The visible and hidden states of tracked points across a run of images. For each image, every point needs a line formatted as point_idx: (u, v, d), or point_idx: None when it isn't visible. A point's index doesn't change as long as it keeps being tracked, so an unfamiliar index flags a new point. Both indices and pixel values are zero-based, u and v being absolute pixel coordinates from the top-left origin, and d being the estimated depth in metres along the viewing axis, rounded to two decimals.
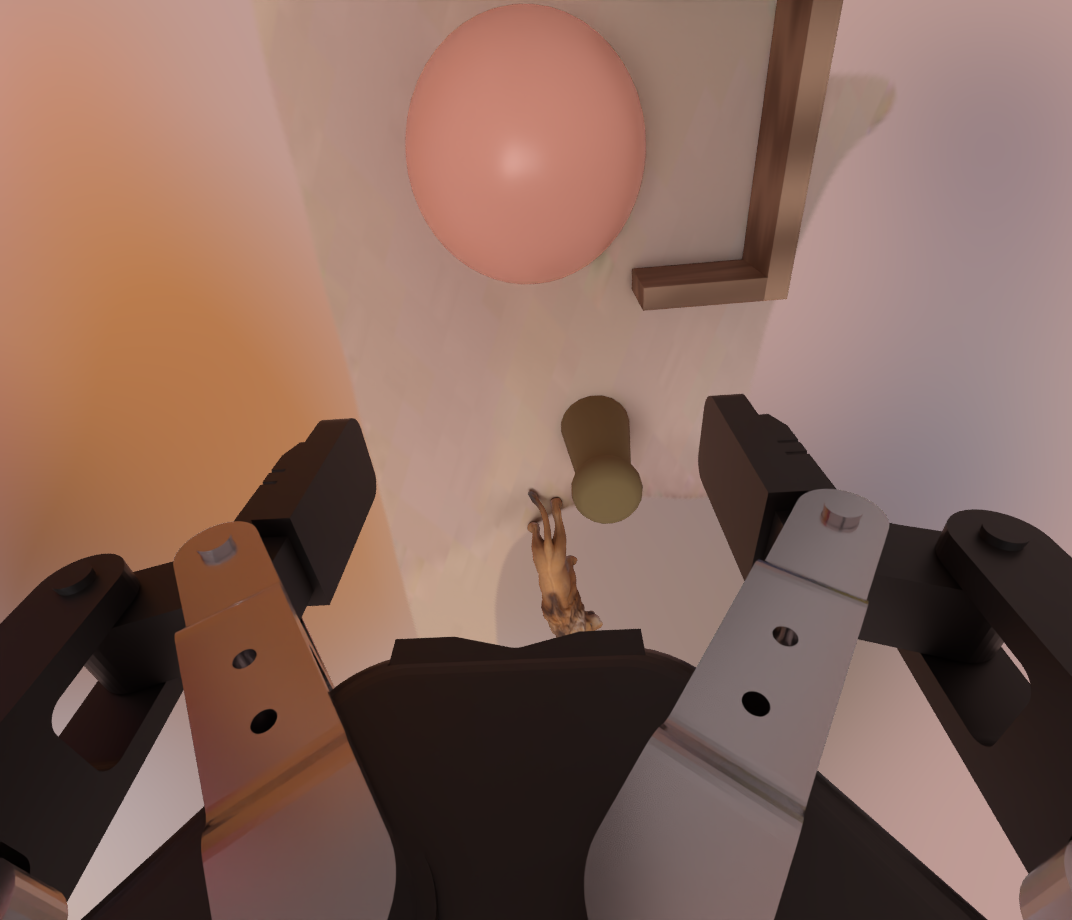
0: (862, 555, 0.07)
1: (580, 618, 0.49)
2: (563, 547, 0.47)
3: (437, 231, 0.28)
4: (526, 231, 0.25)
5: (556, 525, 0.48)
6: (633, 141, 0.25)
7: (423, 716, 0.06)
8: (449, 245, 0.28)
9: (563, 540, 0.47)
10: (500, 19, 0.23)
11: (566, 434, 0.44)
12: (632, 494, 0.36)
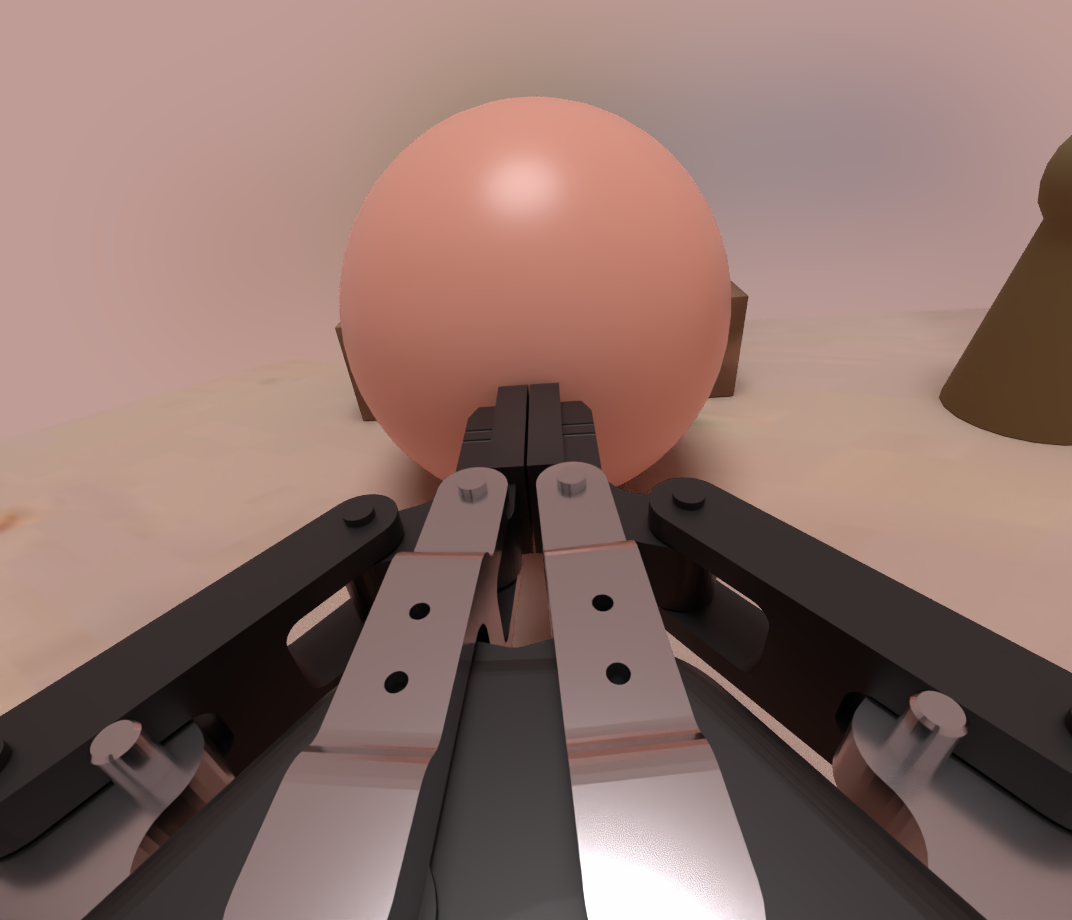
0: (567, 514, 0.08)
1: None
2: None
3: (634, 200, 0.12)
4: None
5: None
6: None
7: None
8: (660, 196, 0.13)
9: None
10: None
11: None
12: None
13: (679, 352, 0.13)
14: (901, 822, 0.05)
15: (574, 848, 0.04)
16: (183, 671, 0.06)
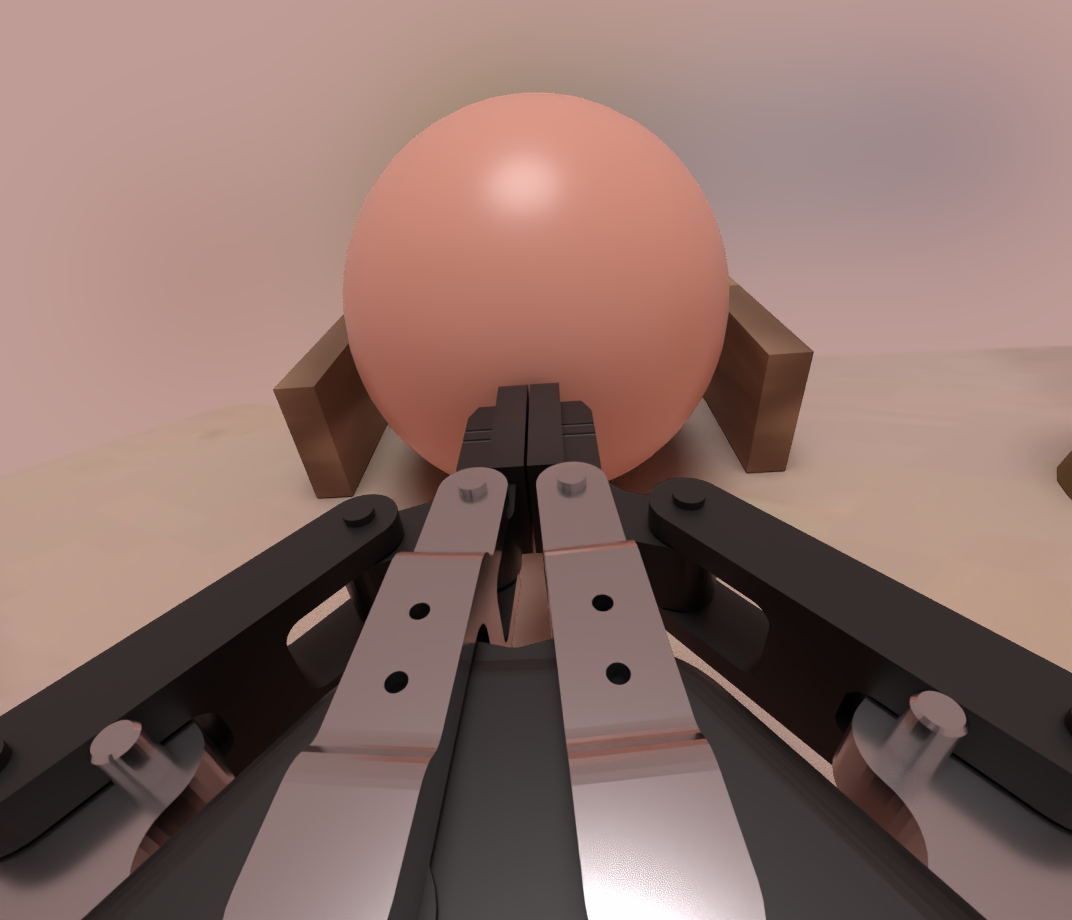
0: (567, 515, 0.08)
1: None
2: None
3: None
4: None
5: None
6: None
7: None
8: None
9: None
10: None
11: None
12: None
13: (663, 151, 0.14)
14: (902, 821, 0.05)
15: (574, 848, 0.04)
16: (183, 671, 0.06)
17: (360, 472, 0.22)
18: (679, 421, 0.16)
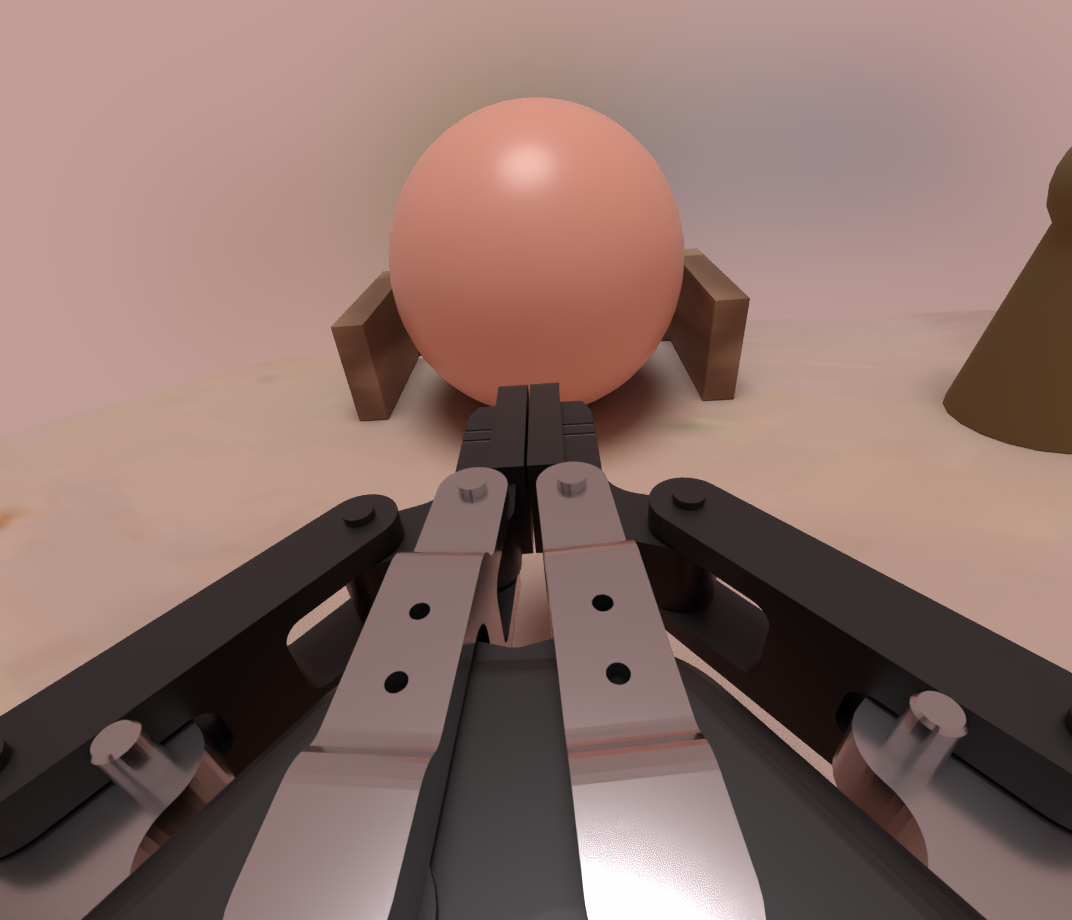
0: (567, 514, 0.08)
1: None
2: None
3: None
4: None
5: None
6: None
7: None
8: None
9: None
10: None
11: None
12: None
13: (631, 144, 0.19)
14: (901, 822, 0.05)
15: (574, 848, 0.04)
16: (183, 671, 0.06)
17: (393, 402, 0.28)
18: (643, 351, 0.21)
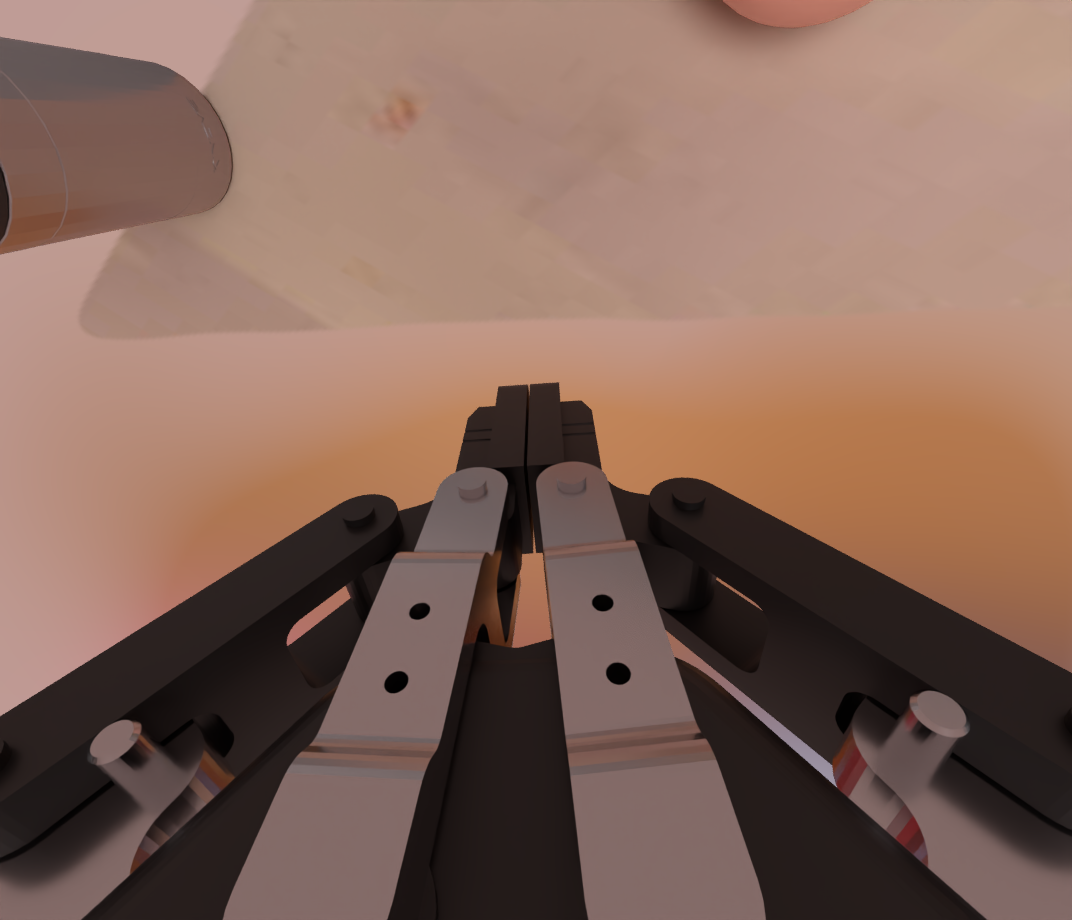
0: (567, 514, 0.08)
1: None
2: None
3: None
4: None
5: None
6: None
7: None
8: None
9: None
10: None
11: None
12: None
13: None
14: (901, 821, 0.05)
15: (574, 848, 0.04)
16: (183, 671, 0.06)
17: None
18: None
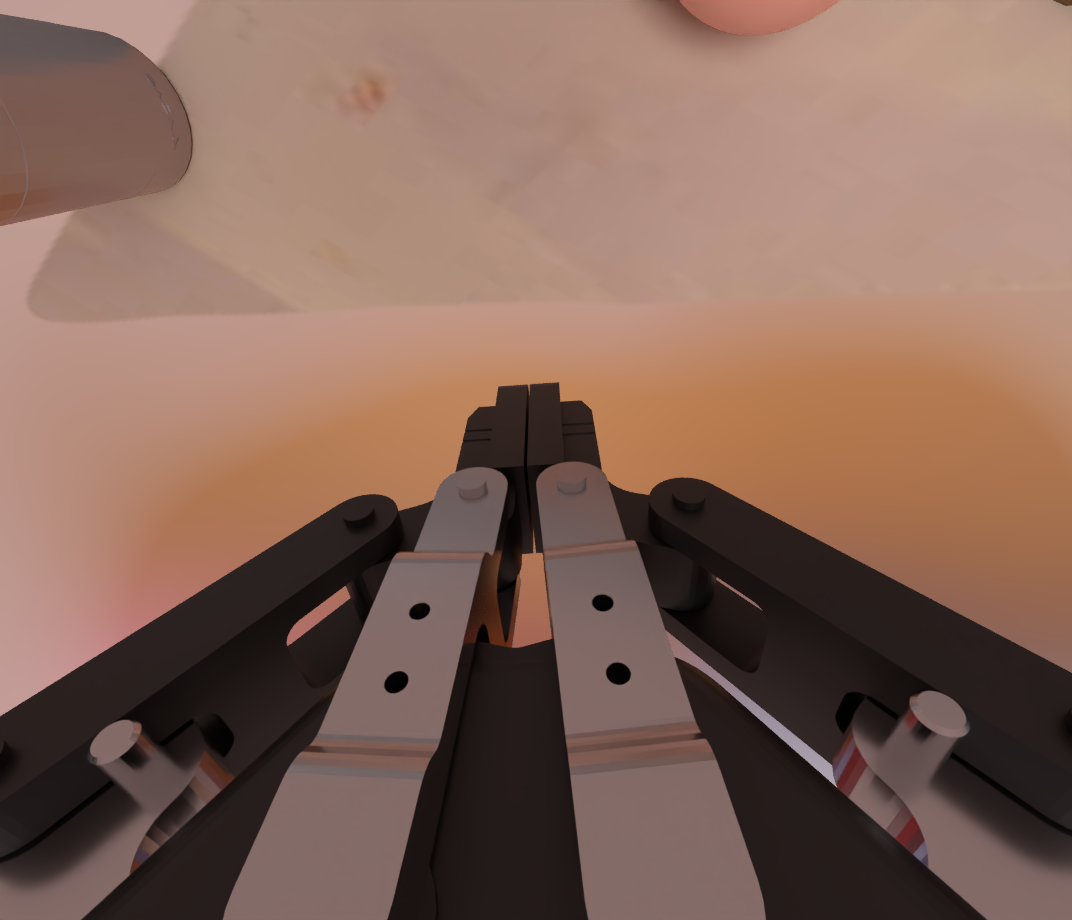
0: (567, 515, 0.08)
1: None
2: None
3: None
4: None
5: None
6: None
7: None
8: None
9: None
10: None
11: None
12: None
13: None
14: (901, 822, 0.05)
15: (574, 848, 0.04)
16: (183, 671, 0.06)
17: None
18: None
